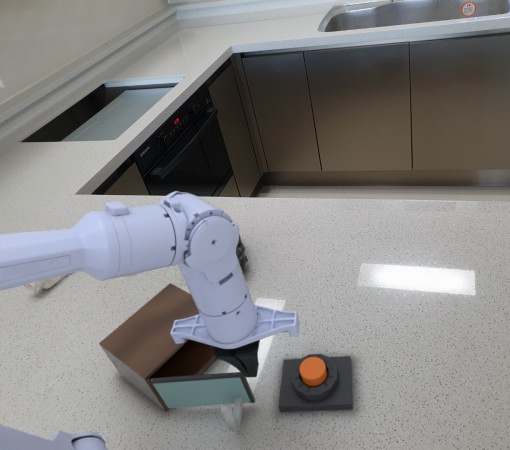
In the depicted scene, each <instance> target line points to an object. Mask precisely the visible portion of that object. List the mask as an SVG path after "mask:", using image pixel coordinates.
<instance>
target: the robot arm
mask: <svg viewBox="0 0 510 450" xmlns="http://www.w3.org/2000/svg"><path fill="white" fill-rule="evenodd" d="M239 234H240V226H239V223H235V222H234V221H233V219H232V217H231V216H230V215H229V214H228V213H227V212H225V211H224V210H222V209H220V208H218V207H216V205H213V204H211V203H210V202H208V201H206V200H205V199H203V198H201V197H199V196H198V195H195V194H193V193H190V192H184V191H183V192H181V191H178V190H175V191H173V192H170V193H168V194H167V195H166V196H164V197H163V198H162V199H161V200H159V202H158V203H152V204H151V203H150V204H144V205H143V204H142V205H133V206H128V205H126V204H125V203H123V202H122V201H120V200H117V201H107V202H106V203H105V209H98V210H91V211H87V212H86V213H85V214H84V215H83V216H82V217H81V218H80V219H79V220H78V221H77V223H76V224H75V225H74V226H73V227H71V228H58V229H47V230H34V231H23V232H9V233H0V292H3V291H7V290H10V289H15V288H18V287H22V286H24V285H26V284H30V283H34V282H38V281H42V280H46V279H50V278H54V277H58V276H61V275H65V274H67V275H69V274H72V273H76V272H84V273H85V274H87V275H89V276H90V277H92V278H93V279H95V280H96V281H100V282H102V281H108V280H109V281H110V280H112V279H117V278H123V277H128V276H131V275H137V274H141V273H145V272H150V271H155V270H159V269H165V268H169V267H174V266H178V268H179V271H180V273H181V277H182V279H183V281H184V283H185V285H186V287H187V289H188V291H189V294H191V296H192V298H193V300H194V302H195V304H196V306H197V309H198V311H199V313H200V314H198V315H195V316H193V317H189V318H186V319H181V320H175V321H174V324H173V327H172V330H171V333H170V334H171V336H172V338H173V339H174V341H175V343H176V344H180V343H184V342H185V340H186V339H190V340H194V341H197V342H201V343H205V344H208V345H212V346H214V349H213V354H214V356H215V358H216V360H220V361H223V362H224V363H225V362H226V363H228V364H229V365H231V366H233V367H234V368H235V369H236V370H238V372H241V373H242V374H243V375H244V376H245V377H246V379H247V378H257V377H258V371H259V365H260V363H259V354H258V353H259V348H260V343H261V340H263V339H267V338H270V337H272V336H275V335H277V334H282V333H283V334H284V333H288V335H289V337H291V338H292V337H299V336H300V325H301V321H300V318H299V315H298V311H285V310H280V309H275V308H271V307H266V306H261V305H256V304H255V303H254V302H253V298H252V295H251V293H250V289H249V286H248V284H247V281H246V278H245V276H244V271H243V272H242V269H241V266H240V264H239V261H238V258H237V255H236V247H237V244H238V241H239ZM0 450H109V449H108V447H107V445H106V441H105V439H104V438H103V436H102V435H101V434H100V433H98V432H94V431H84V432H77V433H69V432H66V431H63V430H58V431H57V432H55V433H54V434H52V435H51V436H50V437H49V438H48V439H47V438H45V437H41V436H38V435H35V434H32V433H28V432H26V431H22V430H19V429H16V428H14V427H10V426H7V425H4V424H0Z"/></svg>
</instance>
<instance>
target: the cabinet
mask: <svg viewBox="0 0 510 450" xmlns="http://www.w3.org/2000/svg"><path fill="white" fill-rule="evenodd" d="M198 314H200V313H199V311H198V309H197V306H196V304H195V302H194V300H193V298H192V296H191V294H190V292H188V291H186V290H184V289H182V288H180V287H179V286H177V285H175V284H173V283H168V284H167V285H166V286H165V287H164V288H162V289H161V290H160V291H159V292H157V294H155V295H154V296H153V297H152V298H151V299H149V300H148V301H147V302H146V303H144V304H143V305H142V306H141V307H139V309H138V310H136V311H135V312H134V313H133V314H131V316H129V317H128V318H127V319H126V320H124V321H123V322H122V323H121V324H120V325H118V327H116V328H115V329H113V331H112V332H110V333H109V334H108V335H107V336H106V337H104V338H103V339H102V340H101V341H100V342H99V343H98V345H99V346H100V348H101V349H102V351H103V352H104V353H105V355H106V356H107V358H108V359H109V360H110V362H111V363H112V365H113V366H114V367H115V368H116V370H117V372H118V373H119V374H120V375H121V377H122V378H123V379H124V380H126V381H127V382H128V383H129V384H131V385H132V386H133V387H134V388H136V389H137V390H138V391H139V392H141V393H142V394H143V395H145V397H147V398H148V399H150V400H151V401H152V402H153V403H154V404H155V405H157V406H158V407H159V408H160V409H162V410H163V411H164V412H167V411H169V409H170V408H168V407H167V405H166V404H165V402H164V401H163V399H162V397H161V396H160V394H159V393H158V391H157V390H156V388H155V387H154V385H153V384H152V383H151V379H152V378H164V377H178V376H191V375H204V373H205V372H206V371H207V370H208V369H209V368H210V367H211V366H212V365H213V363H215V362H216V360H217V359H216V358H215V356H214V354H213V349H214V346H212V345H208V344H205V343H201V342H197V341H194V340H190V339H186V340H185V342H184V343H180V344H176V343H175V341H174V339H173V338H172V336H171V334H170V333H171V330H172V327H173V324H174V321H175V320H181V319H186V318H189V317H193V316H195V315H198Z"/></svg>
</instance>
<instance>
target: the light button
mask: <svg viewBox="0 0 510 450" xmlns="http://www.w3.org/2000/svg"><path fill="white" fill-rule="evenodd" d="M300 374H301V377H302V380H303V382H304V383H305V384H306V385H308V386H318V385H320V384H322V383H323V382H324V381H325V379H326V377H327V371H326V366H325V363H324V362H323V360H321V359H320V358H318V357H310V358H307V359H305V360H304V361H303V362H302V363H301V365H300Z"/></svg>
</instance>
